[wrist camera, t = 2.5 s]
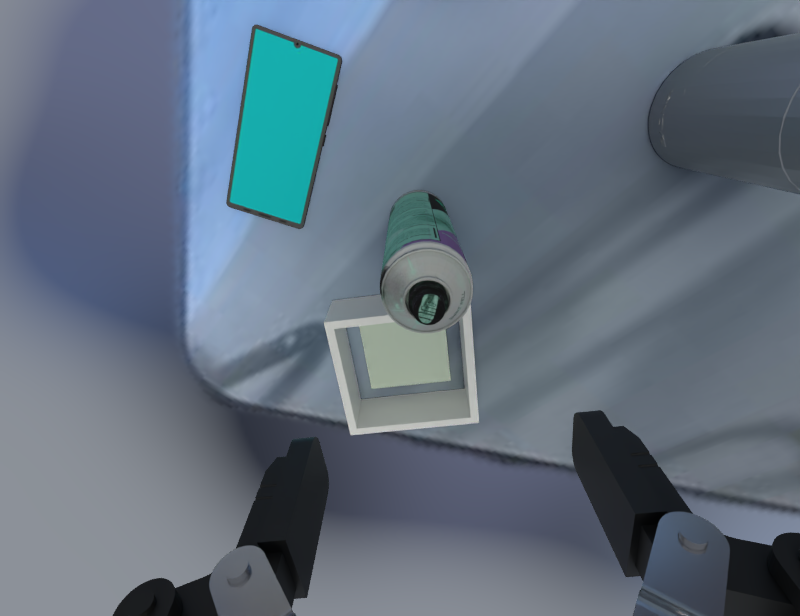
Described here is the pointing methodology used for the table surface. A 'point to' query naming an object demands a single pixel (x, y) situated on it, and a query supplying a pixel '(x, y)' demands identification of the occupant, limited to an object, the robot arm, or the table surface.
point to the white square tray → (398, 370)
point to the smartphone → (281, 126)
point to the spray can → (424, 266)
